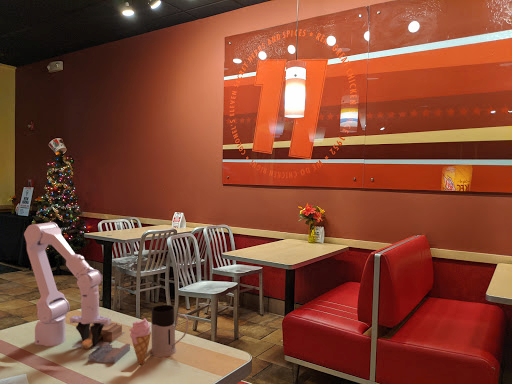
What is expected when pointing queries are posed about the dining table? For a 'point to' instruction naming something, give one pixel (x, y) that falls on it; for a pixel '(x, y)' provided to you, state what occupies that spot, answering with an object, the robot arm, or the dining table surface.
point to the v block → (108, 353)
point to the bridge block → (105, 335)
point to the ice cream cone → (140, 339)
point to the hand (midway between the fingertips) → (90, 343)
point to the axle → (90, 341)
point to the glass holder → (164, 330)
